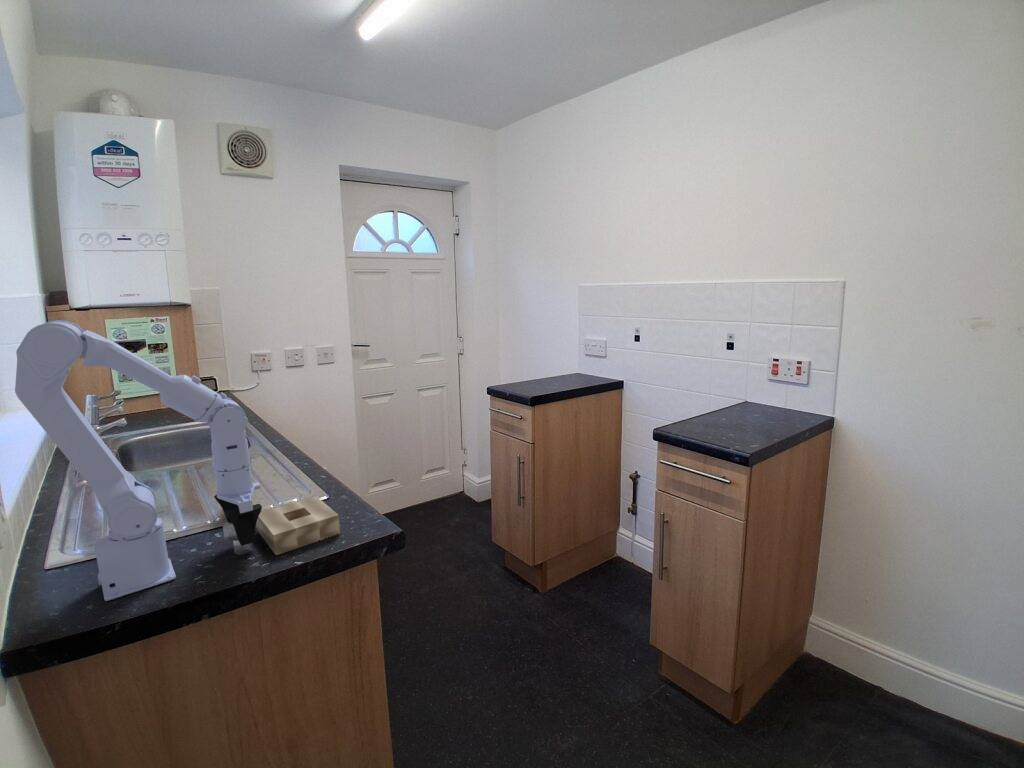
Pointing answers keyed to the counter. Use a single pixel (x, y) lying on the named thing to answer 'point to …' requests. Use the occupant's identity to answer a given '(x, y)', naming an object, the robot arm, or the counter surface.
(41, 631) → the counter surface
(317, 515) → the block
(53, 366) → the robot arm
